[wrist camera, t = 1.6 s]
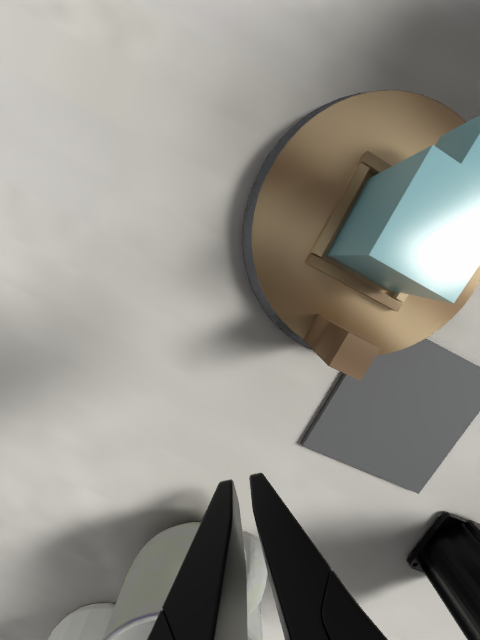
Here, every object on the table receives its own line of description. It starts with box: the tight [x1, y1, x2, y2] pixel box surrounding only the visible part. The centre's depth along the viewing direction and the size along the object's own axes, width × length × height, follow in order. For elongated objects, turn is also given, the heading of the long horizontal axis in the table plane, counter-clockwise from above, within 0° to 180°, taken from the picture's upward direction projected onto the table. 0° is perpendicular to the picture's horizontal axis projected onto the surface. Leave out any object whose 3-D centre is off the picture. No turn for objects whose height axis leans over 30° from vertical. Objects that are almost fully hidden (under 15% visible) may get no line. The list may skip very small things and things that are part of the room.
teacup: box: [103, 522, 268, 640], centre depth 20 cm, size 14×11×8 cm
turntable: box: [252, 90, 480, 381], centre depth 15 cm, size 16×16×5 cm
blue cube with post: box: [325, 115, 480, 303], centre depth 14 cm, size 8×5×5 cm, turn 153°
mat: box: [301, 338, 480, 494], centre depth 22 cm, size 12×12×1 cm
